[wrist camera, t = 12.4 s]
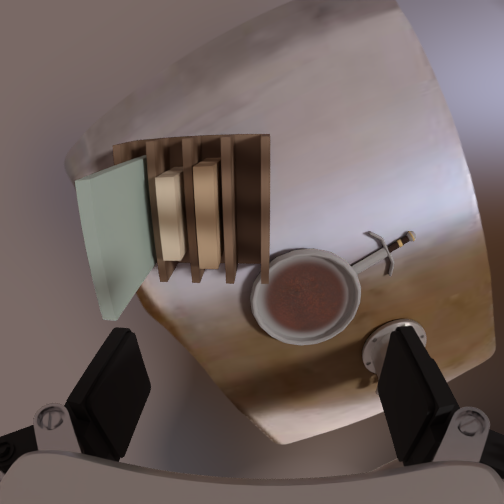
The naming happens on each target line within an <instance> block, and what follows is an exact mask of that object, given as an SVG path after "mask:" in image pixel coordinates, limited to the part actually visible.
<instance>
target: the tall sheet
mask: <svg viewBox="0 0 504 504" xmlns="http://www.w3.org/2000/svg"><path fill="white" fill-rule="evenodd" d="M75 186H76V193H77V200H78V207H79V213H80V219H81V225H82V231H83V236H84V242H85V247H86V251H87V257H88V261H89V265H90V270H91V275H92V279H93V283H94V287H95V291H96V295H97V299H98V303H99V307H100V310H101V314H102V317H103V319H104V320H114V321H116V320H117V319H118V318H119V316H120V315H121V313H122V312H123V310H124V309H125V307H126V306H127V304H128V303H129V301H130V300H131V299H132V297H133V296H134V294H135V293H136V291H137V290H138V288H139V287H140V285H141V284H142V283H143V281H144V280H145V278H146V277H147V275H148V274H149V273H150V271H151V270H152V268H153V267H154V265H155V264H156V263H157V256H156V248H155V240H154V232H153V223H152V214H151V204H150V194H149V182H148V170H147V155H144V156H141V157H138V158H135V159H132V160H129V161H126V162H123V163H120V164H118V165H115V166H112V167H109V168H107V169H104V170H101V171H99V172H96V173H93V174H91V175H88V176H86V177H83V178H81V179H78V180H76V181H75Z"/></svg>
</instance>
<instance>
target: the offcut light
mask: <svg viewBox="0 0 504 504" xmlns="http://www.w3.org/2000/svg"><path fill="white" fill-rule="evenodd" d="M155 184H156V196H157V207H158V217H159V227H160V236H161V244H162V253H163V260H164V261H181V260H182V258H183V256H184V255H185V253H186V251H187V249H188V248H189V243H188V231H187V218H186V204H185V189H184V172H183V167H173V168H172V169H170V170H168V171H166V172H164V173H162V174H161V175H159V176H157V177H155Z"/></svg>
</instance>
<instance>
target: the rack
mask: <svg viewBox="0 0 504 504" xmlns="http://www.w3.org/2000/svg"><path fill="white" fill-rule="evenodd" d="M144 155H147V170H148V182H149V194H150V204H151V214H152V223H153V232H154V240H155V248H156V256H157V263H158V270H159V277H160V282H168V280H169V278H170V276H171V275H172V273H173V271H174V269H175V268H176V266H177V264H178V263H190V265H191V275H192V283H200V281H201V279H202V276H203V274H204V271H205V269H200V267H199V255H198V242H197V229H196V214H195V198H194V180H193V166H195V165H196V164H198V163H200V162H201V161H203V160H204V159H206V158H221V169H222V199H223V226H224V252H223V255H222V258H221V261H220V263H225V270H226V283H229V284H234V281H235V276H236V271H237V266H238V263H246V264H261V284H269V247H270V134H231V135H203V136H185V137H171V138H158V139H147V140H137V141H131V142H126V143H122V144H117V145H113V157H114V166H115V165H118V164H120V163H123V162H126V161H129V160H132V159H135V158H138V157H141V156H144ZM173 167H183V172H184V189H185V204H186V218H187V231H188V243H189V248H188V249H187V251H186V253H185V255H184V256H183V258H182V260H181V261H164V260H163V253H162V244H161V236H160V227H159V217H158V207H157V196H156V184H155V177H157V176H159V175H161V174H162V173H164V172H166V171H168V170H170V169H172V168H173Z"/></svg>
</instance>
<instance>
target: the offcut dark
mask: <svg viewBox="0 0 504 504" xmlns="http://www.w3.org/2000/svg"><path fill="white" fill-rule="evenodd" d="M193 180H194V198H195V214H196V229H197V242H198V255H199V267H200V269H218V267H219V264H220V261H221V258H222V255H223V252H224V226H223V199H222V169H221V158H206V159H204V160H203V161H201V162H200V163H198V164H196V165H195V166H193Z"/></svg>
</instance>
